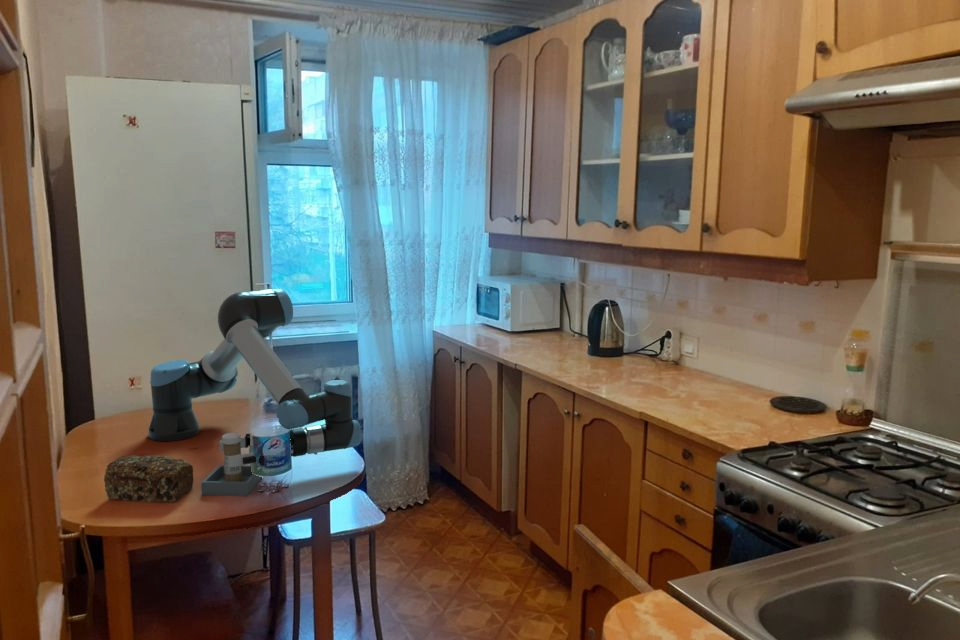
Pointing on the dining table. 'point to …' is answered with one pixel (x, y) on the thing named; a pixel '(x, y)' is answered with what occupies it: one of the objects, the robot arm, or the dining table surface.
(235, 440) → the sprinkles bottle
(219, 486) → the tray
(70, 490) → the dining table surface
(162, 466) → the bread
